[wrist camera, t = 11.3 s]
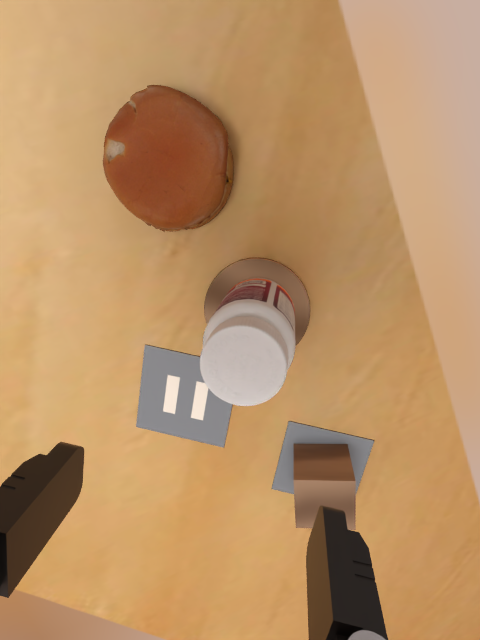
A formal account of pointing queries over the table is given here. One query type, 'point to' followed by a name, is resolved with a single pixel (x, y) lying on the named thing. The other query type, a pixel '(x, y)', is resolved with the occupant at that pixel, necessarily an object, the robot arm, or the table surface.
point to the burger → (168, 159)
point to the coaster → (260, 270)
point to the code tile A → (180, 398)
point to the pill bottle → (249, 343)
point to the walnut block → (323, 482)
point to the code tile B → (314, 435)
